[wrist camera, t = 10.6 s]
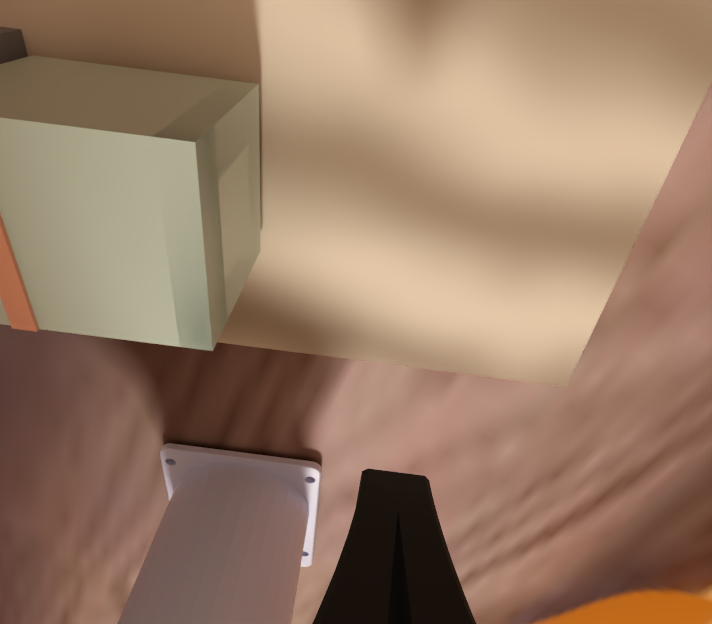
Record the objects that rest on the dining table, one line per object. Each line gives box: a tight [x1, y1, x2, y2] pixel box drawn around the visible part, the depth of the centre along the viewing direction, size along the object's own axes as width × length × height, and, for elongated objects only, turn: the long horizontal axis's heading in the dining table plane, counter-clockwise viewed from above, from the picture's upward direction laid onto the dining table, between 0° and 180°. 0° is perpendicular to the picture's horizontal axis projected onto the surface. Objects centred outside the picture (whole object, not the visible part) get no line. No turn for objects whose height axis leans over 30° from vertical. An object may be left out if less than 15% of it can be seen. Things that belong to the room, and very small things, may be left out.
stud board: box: [0, 0, 712, 387], centre depth 14 cm, size 14×22×6 cm, turn 84°
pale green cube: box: [0, 55, 261, 351], centre depth 13 cm, size 5×6×5 cm
